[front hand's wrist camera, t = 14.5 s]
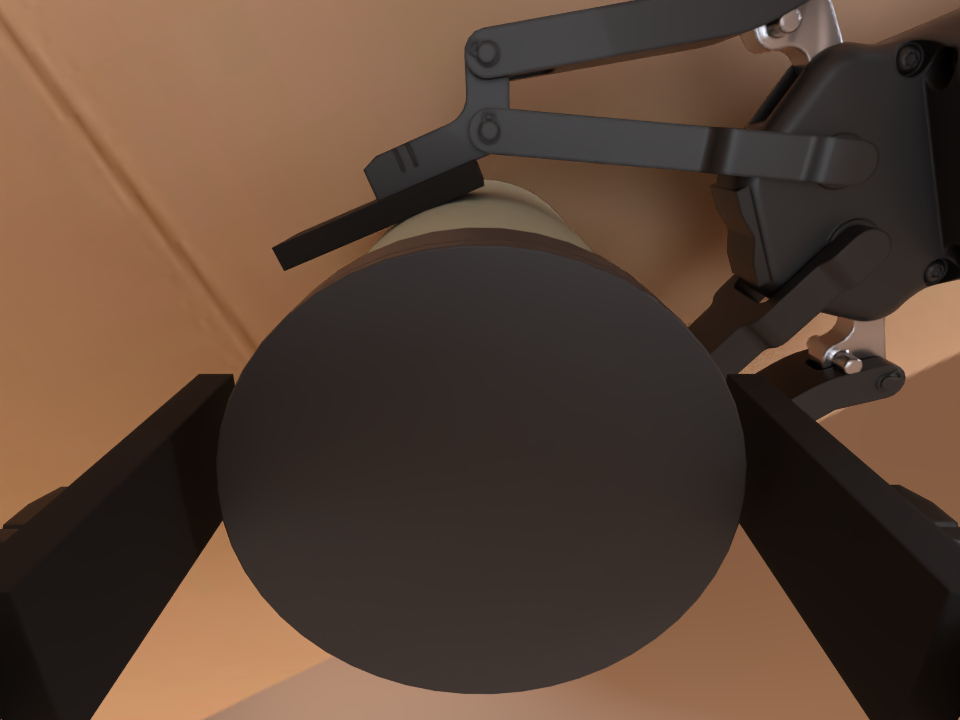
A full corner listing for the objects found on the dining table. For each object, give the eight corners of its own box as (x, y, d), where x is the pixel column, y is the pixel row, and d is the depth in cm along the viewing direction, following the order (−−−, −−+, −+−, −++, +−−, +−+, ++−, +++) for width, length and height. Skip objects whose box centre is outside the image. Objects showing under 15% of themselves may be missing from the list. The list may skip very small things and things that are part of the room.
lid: (425, 683, 14) (418, 753, 13) (153, 396, 12) (98, 440, 10) (782, 511, 13) (827, 568, 11) (564, 115, 10) (581, 111, 8)
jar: (337, 262, 25) (142, 440, 11) (505, 133, 23) (547, 134, 9) (459, 410, 28) (437, 715, 13) (619, 306, 26) (797, 528, 11)
